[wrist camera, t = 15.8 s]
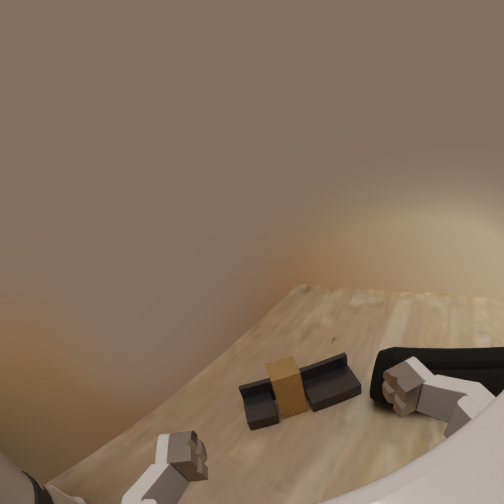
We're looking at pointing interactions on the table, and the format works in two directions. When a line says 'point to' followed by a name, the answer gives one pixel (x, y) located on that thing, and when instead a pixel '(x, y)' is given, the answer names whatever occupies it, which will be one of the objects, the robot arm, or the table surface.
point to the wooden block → (287, 386)
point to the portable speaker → (444, 366)
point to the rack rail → (315, 387)
